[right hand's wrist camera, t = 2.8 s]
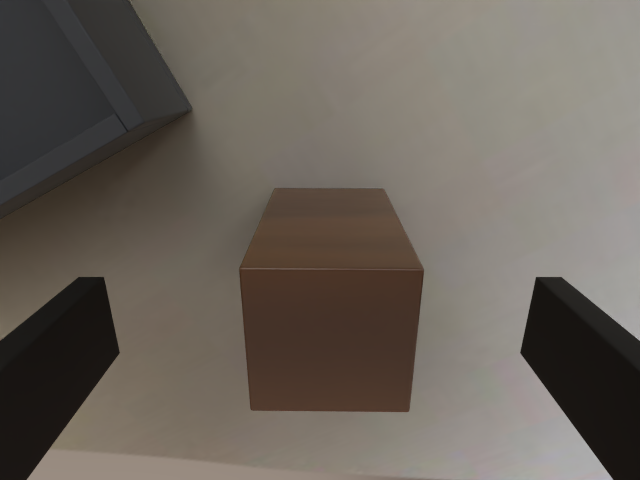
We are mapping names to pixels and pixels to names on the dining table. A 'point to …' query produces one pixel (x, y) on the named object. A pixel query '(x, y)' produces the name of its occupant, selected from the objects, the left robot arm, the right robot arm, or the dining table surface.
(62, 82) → the grey tray
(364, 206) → the walnut block
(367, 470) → the dining table surface
